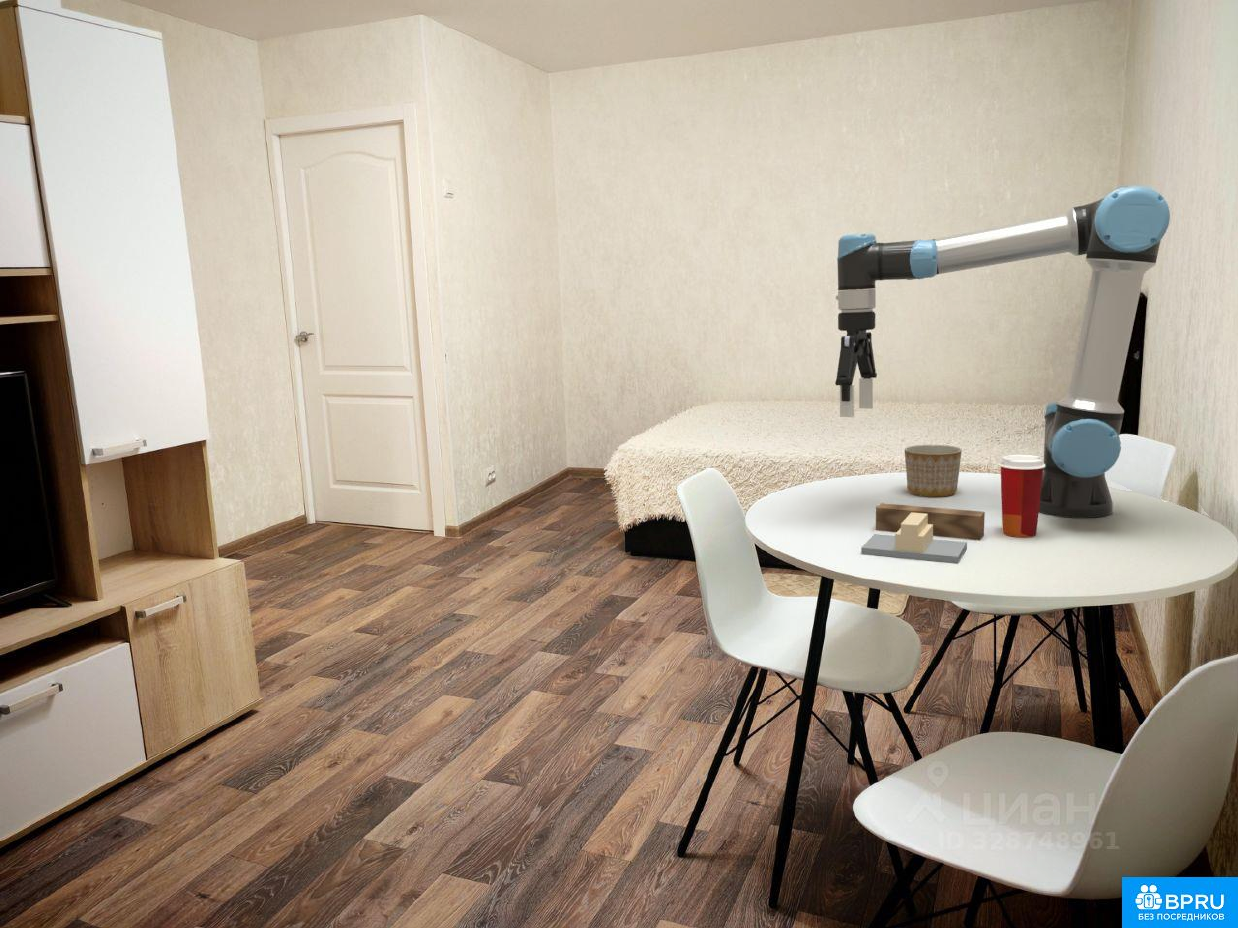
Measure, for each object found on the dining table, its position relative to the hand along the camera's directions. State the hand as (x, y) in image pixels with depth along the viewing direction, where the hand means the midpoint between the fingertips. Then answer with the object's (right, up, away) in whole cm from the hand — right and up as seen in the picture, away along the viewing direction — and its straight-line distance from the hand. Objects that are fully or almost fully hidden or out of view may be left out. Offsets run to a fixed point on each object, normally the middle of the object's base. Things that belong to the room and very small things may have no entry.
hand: (856, 412), depth 191 cm
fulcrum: (+5, -27, -23) cm, 36 cm away
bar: (+11, -25, -11) cm, 30 cm away
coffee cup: (+28, -25, -15) cm, 40 cm away
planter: (+24, -18, +22) cm, 37 cm away
